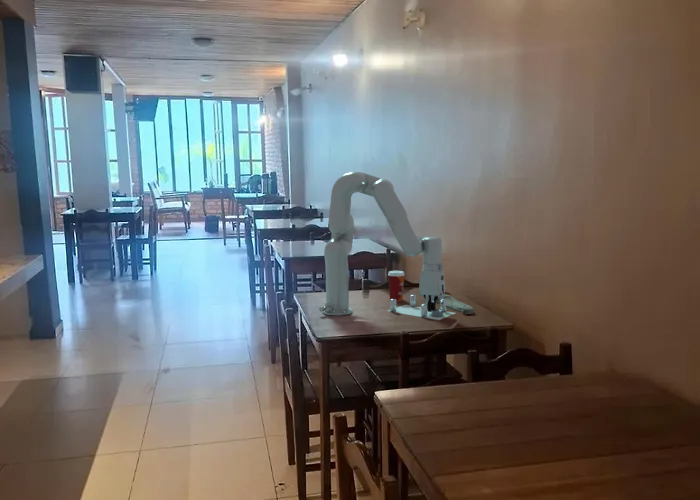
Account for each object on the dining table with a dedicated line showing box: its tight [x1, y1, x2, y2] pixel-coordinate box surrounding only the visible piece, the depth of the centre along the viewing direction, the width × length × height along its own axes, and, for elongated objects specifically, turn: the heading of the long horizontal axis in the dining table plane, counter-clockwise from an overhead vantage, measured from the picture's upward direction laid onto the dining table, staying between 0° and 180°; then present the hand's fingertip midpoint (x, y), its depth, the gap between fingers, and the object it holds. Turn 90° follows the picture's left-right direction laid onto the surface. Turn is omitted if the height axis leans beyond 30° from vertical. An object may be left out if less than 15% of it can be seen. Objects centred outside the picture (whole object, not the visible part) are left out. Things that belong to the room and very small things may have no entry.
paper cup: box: [387, 270, 406, 302], centre depth 267 cm, size 8×8×14 cm
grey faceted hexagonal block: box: [431, 307, 443, 317], centre depth 238 cm, size 4×5×2 cm
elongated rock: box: [436, 293, 475, 315], centre depth 260 cm, size 35×5×10 cm
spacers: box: [389, 294, 448, 318], centre depth 246 cm, size 15×20×5 cm
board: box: [387, 304, 456, 321], centre depth 245 cm, size 14×25×1 cm, turn 52°
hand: (431, 311), depth 242 cm, fingers closed
